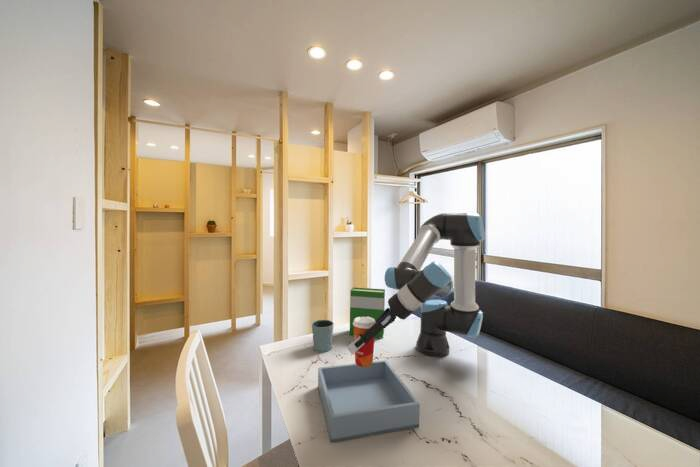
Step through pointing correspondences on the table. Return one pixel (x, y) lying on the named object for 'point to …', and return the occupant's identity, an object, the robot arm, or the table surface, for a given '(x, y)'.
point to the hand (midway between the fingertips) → (354, 345)
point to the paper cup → (366, 351)
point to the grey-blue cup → (322, 335)
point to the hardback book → (366, 305)
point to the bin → (365, 401)
